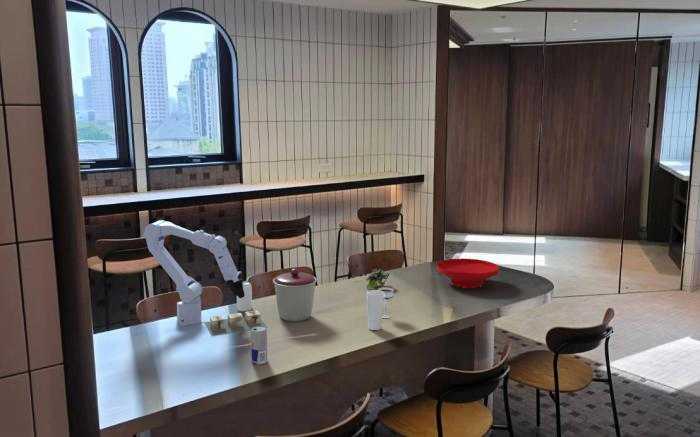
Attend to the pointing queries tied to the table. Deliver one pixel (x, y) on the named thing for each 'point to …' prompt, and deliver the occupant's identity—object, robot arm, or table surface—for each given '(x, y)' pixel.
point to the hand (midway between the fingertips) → (240, 296)
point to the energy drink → (259, 345)
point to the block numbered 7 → (252, 317)
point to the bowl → (467, 271)
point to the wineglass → (387, 297)
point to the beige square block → (217, 322)
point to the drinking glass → (374, 308)
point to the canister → (294, 295)
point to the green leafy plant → (377, 278)
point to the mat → (232, 330)
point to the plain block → (235, 320)
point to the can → (245, 298)
